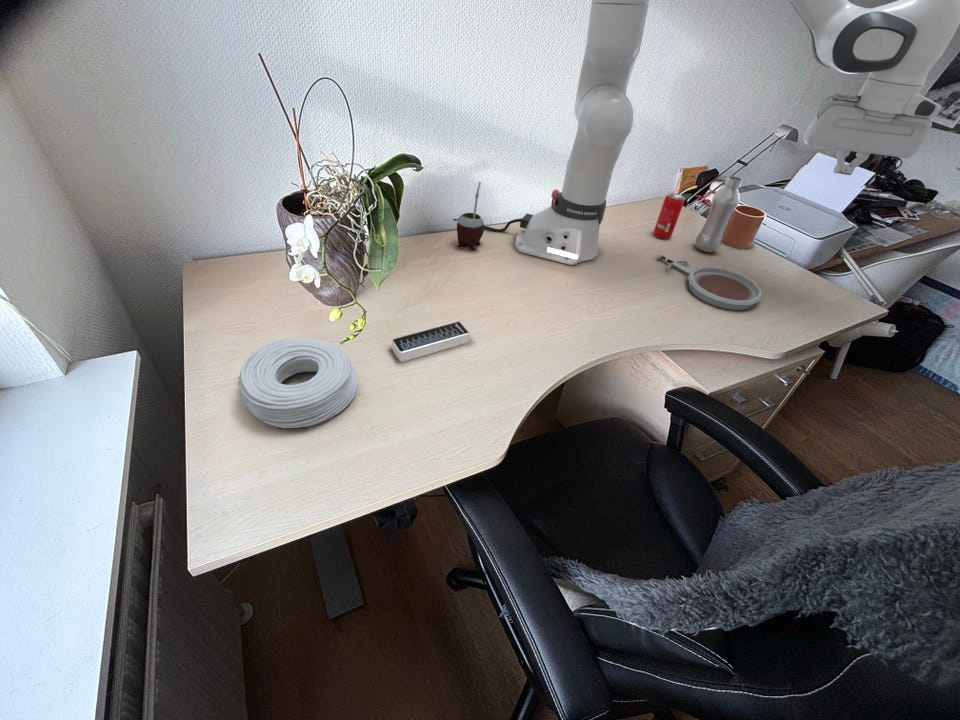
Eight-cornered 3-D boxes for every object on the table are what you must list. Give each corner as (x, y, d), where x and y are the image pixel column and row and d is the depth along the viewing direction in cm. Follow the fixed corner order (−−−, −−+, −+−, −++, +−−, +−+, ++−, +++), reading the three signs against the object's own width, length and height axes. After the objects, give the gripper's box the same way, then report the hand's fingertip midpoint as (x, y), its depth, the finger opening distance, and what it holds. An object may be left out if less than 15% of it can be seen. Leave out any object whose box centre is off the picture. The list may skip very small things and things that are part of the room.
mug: (754, 242, 136) (769, 211, 130) (745, 251, 131) (761, 219, 125) (716, 229, 142) (729, 199, 136) (706, 237, 137) (719, 206, 130)
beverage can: (649, 232, 136) (662, 192, 128) (663, 231, 137) (678, 192, 130) (659, 240, 132) (673, 199, 125) (674, 239, 134) (689, 199, 126)
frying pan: (678, 243, 126) (777, 289, 109) (675, 253, 128) (771, 299, 111) (639, 257, 118) (739, 308, 101) (636, 267, 120) (734, 319, 103)
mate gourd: (461, 253, 117) (465, 195, 108) (450, 239, 123) (453, 183, 113) (488, 249, 120) (493, 193, 110) (476, 236, 125) (480, 181, 116)
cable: (236, 376, 78) (226, 349, 74) (337, 347, 85) (333, 321, 81) (259, 448, 67) (248, 421, 63) (372, 408, 74) (369, 381, 70)
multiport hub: (391, 348, 86) (390, 339, 85) (459, 329, 92) (459, 320, 91) (400, 362, 83) (400, 352, 82) (469, 342, 90) (470, 332, 88)
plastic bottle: (702, 255, 127) (733, 183, 114) (688, 244, 132) (716, 174, 119) (721, 254, 128) (754, 182, 115) (706, 243, 133) (736, 173, 120)
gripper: (833, 95, 85) (794, 171, 94) (951, 109, 83) (900, 185, 92) (820, 89, 90) (785, 162, 99) (932, 102, 88) (885, 175, 97)
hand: (841, 173), depth 96 cm, fingers closed
